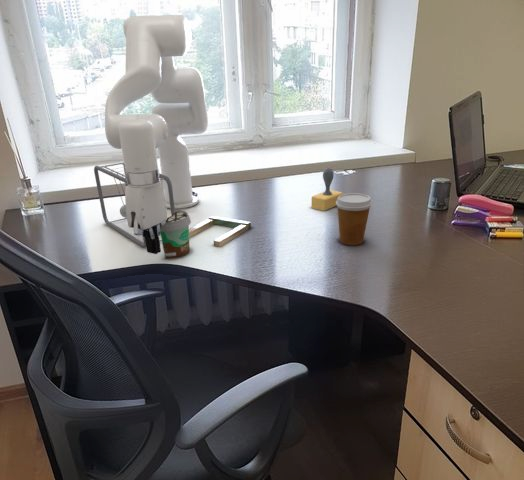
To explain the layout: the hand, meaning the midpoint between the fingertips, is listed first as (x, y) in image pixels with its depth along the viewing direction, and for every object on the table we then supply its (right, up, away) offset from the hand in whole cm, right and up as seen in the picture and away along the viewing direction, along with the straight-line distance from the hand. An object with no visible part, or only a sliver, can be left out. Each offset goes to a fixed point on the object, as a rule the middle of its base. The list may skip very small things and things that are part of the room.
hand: (154, 252), depth 132 cm
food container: (+5, +2, +10) cm, 12 cm away
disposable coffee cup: (+52, +5, +14) cm, 54 cm away
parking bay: (+13, +9, +22) cm, 27 cm away
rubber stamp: (+49, +23, +42) cm, 68 cm away
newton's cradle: (-10, +11, +26) cm, 30 cm away
